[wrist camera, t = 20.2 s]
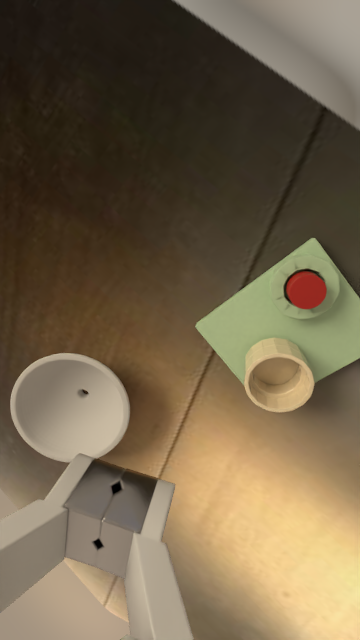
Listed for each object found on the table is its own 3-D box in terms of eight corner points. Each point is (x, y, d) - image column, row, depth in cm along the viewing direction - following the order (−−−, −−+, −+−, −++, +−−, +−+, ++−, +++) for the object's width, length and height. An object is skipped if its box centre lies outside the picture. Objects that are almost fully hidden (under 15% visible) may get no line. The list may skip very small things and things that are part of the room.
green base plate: (312, 236, 30) (319, 238, 27) (384, 336, 31) (398, 347, 28) (196, 322, 35) (192, 331, 32) (263, 403, 36) (265, 419, 34)
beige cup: (281, 324, 32) (287, 341, 27) (316, 369, 32) (327, 392, 28) (232, 356, 34) (231, 376, 30) (266, 397, 35) (270, 422, 30)
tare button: (308, 264, 28) (313, 267, 26) (328, 290, 28) (334, 295, 27) (279, 285, 29) (281, 289, 27) (298, 310, 30) (302, 316, 28)
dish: (90, 313, 37) (68, 326, 33) (167, 395, 39) (156, 419, 34) (15, 385, 43) (-13, 405, 39) (84, 454, 45) (65, 481, 40)
